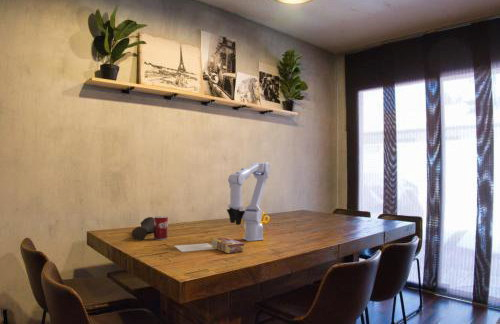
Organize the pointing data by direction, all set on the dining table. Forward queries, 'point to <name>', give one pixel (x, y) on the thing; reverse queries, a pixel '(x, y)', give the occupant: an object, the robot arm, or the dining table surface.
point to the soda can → (160, 227)
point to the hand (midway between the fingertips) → (235, 223)
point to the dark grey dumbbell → (143, 229)
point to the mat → (194, 247)
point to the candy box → (228, 245)
